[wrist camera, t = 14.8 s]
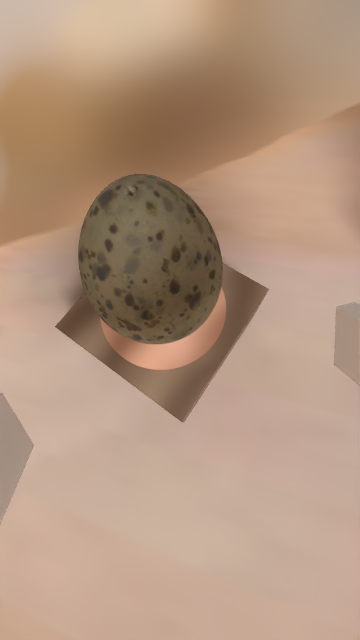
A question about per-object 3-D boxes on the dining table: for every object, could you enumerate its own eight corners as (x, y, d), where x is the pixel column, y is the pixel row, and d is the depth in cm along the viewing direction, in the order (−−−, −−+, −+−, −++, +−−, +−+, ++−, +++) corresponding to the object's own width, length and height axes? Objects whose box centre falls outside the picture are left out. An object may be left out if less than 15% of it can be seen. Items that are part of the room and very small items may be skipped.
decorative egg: (191, 247, 30) (188, 97, 16) (233, 333, 26) (279, 237, 12) (99, 282, 29) (10, 155, 15) (130, 375, 26) (52, 324, 11)
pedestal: (252, 316, 36) (270, 287, 28) (184, 422, 32) (181, 422, 24) (156, 259, 40) (148, 219, 32) (83, 346, 35) (53, 325, 28)
